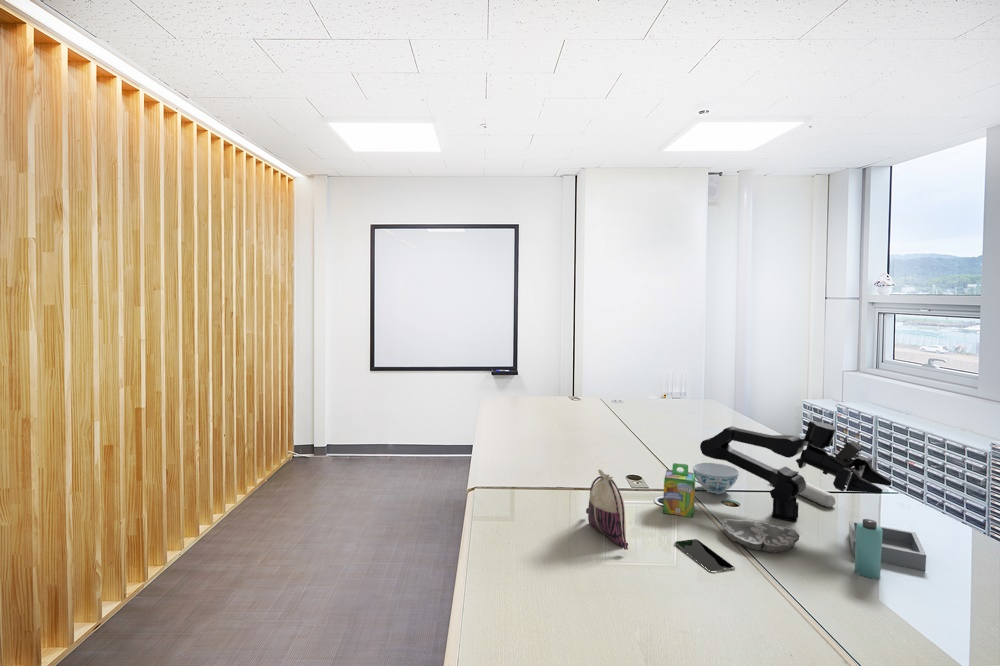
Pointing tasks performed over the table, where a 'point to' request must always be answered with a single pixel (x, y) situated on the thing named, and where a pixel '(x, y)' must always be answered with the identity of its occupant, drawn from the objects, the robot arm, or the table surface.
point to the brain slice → (760, 535)
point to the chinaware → (715, 476)
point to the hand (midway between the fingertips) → (886, 487)
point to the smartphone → (704, 555)
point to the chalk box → (679, 491)
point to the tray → (896, 547)
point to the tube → (818, 495)
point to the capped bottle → (868, 549)
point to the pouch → (607, 509)
